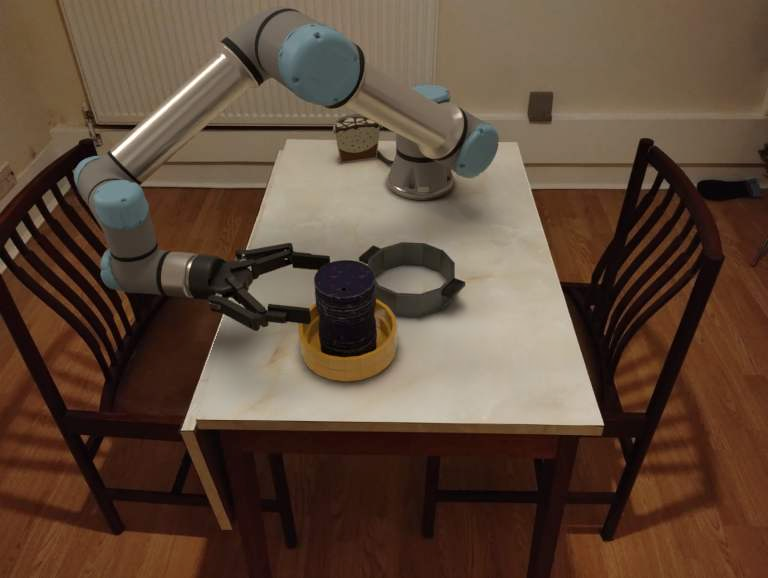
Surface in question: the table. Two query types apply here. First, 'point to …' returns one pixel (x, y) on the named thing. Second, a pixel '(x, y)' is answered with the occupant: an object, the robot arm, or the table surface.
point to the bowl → (353, 365)
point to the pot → (413, 255)
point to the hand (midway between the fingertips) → (320, 288)
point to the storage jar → (346, 308)
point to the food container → (356, 138)
